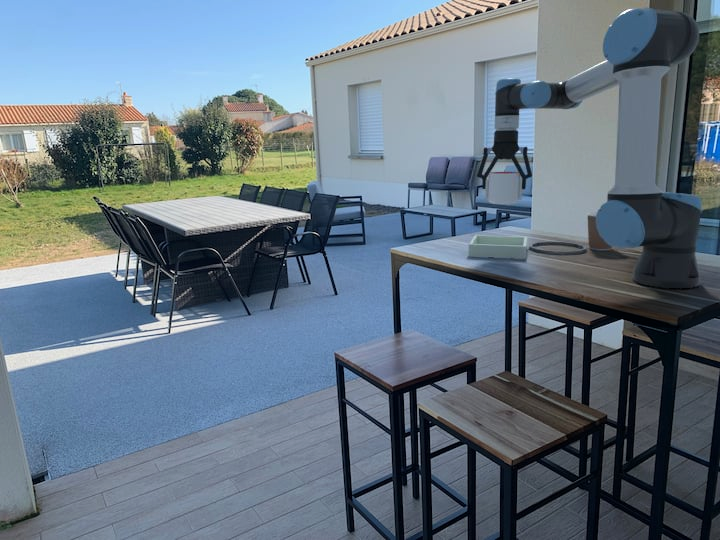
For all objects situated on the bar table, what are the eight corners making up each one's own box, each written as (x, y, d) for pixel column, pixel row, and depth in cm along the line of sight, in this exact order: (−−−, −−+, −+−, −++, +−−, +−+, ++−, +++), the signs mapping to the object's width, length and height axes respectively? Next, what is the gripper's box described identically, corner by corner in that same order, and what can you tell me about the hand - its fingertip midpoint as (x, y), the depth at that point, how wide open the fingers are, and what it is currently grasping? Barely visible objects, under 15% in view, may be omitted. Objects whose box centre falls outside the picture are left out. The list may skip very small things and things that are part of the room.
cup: (516, 201, 174) (518, 171, 172) (520, 204, 165) (522, 173, 162) (486, 201, 176) (487, 171, 174) (488, 204, 167) (489, 173, 164)
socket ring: (588, 255, 166) (588, 252, 166) (528, 253, 172) (528, 250, 171) (583, 245, 183) (584, 242, 182) (529, 243, 189) (529, 240, 188)
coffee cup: (607, 252, 169) (611, 216, 167) (578, 248, 177) (580, 214, 174) (622, 248, 176) (625, 213, 173) (592, 244, 183) (595, 211, 181)
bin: (525, 259, 163) (526, 246, 162) (468, 256, 169) (468, 244, 168) (526, 248, 179) (527, 236, 178) (474, 246, 185) (474, 235, 184)
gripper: (469, 130, 165) (467, 199, 170) (543, 128, 158) (538, 201, 163) (472, 131, 172) (470, 197, 177) (543, 129, 164) (539, 198, 170)
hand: (503, 199), depth 170 cm, fingers closed on cup, 10 cm apart
